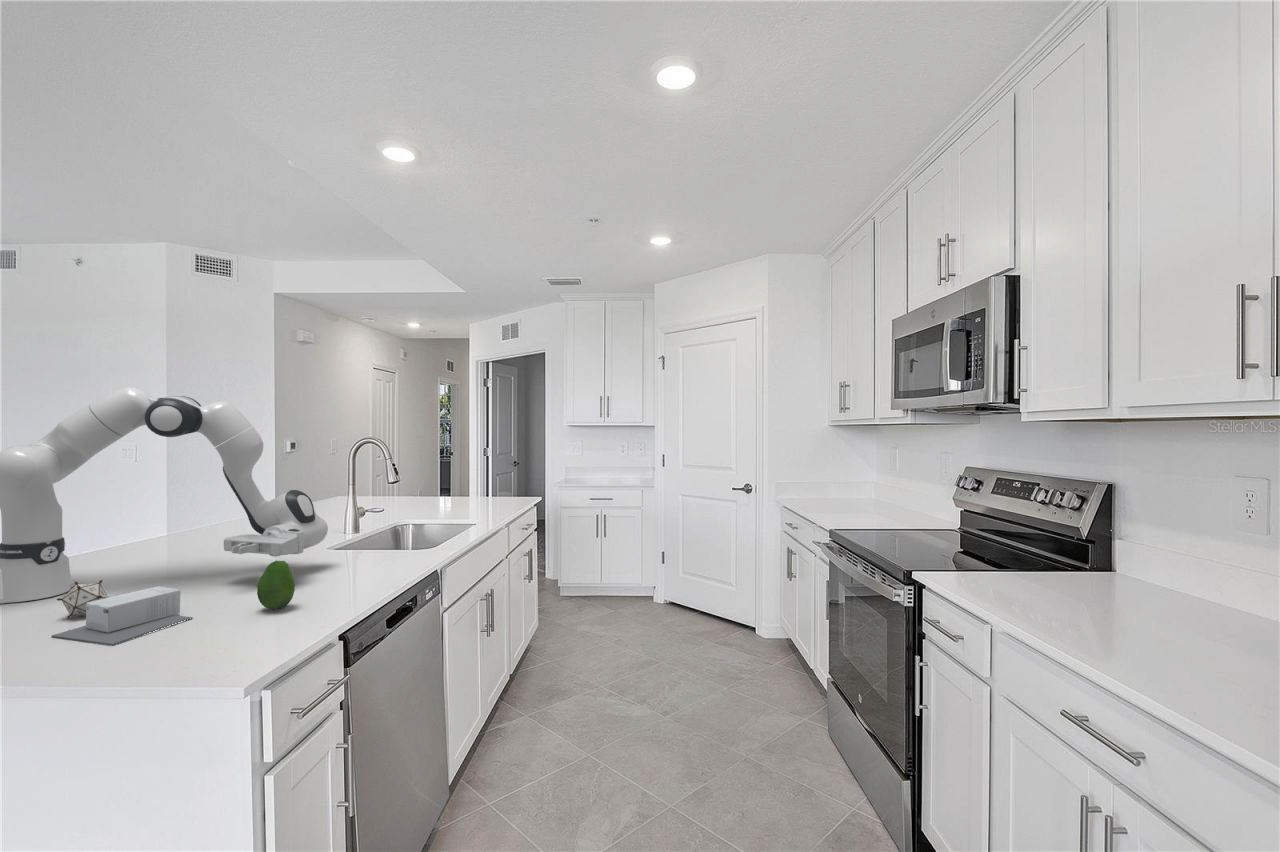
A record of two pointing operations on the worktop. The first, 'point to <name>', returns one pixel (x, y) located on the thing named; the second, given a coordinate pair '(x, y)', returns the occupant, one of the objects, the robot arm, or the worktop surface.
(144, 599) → the skincare box
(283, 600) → the fruit
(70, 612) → the game die
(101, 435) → the robot arm
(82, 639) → the mat
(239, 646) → the worktop surface
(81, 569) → the worktop surface
